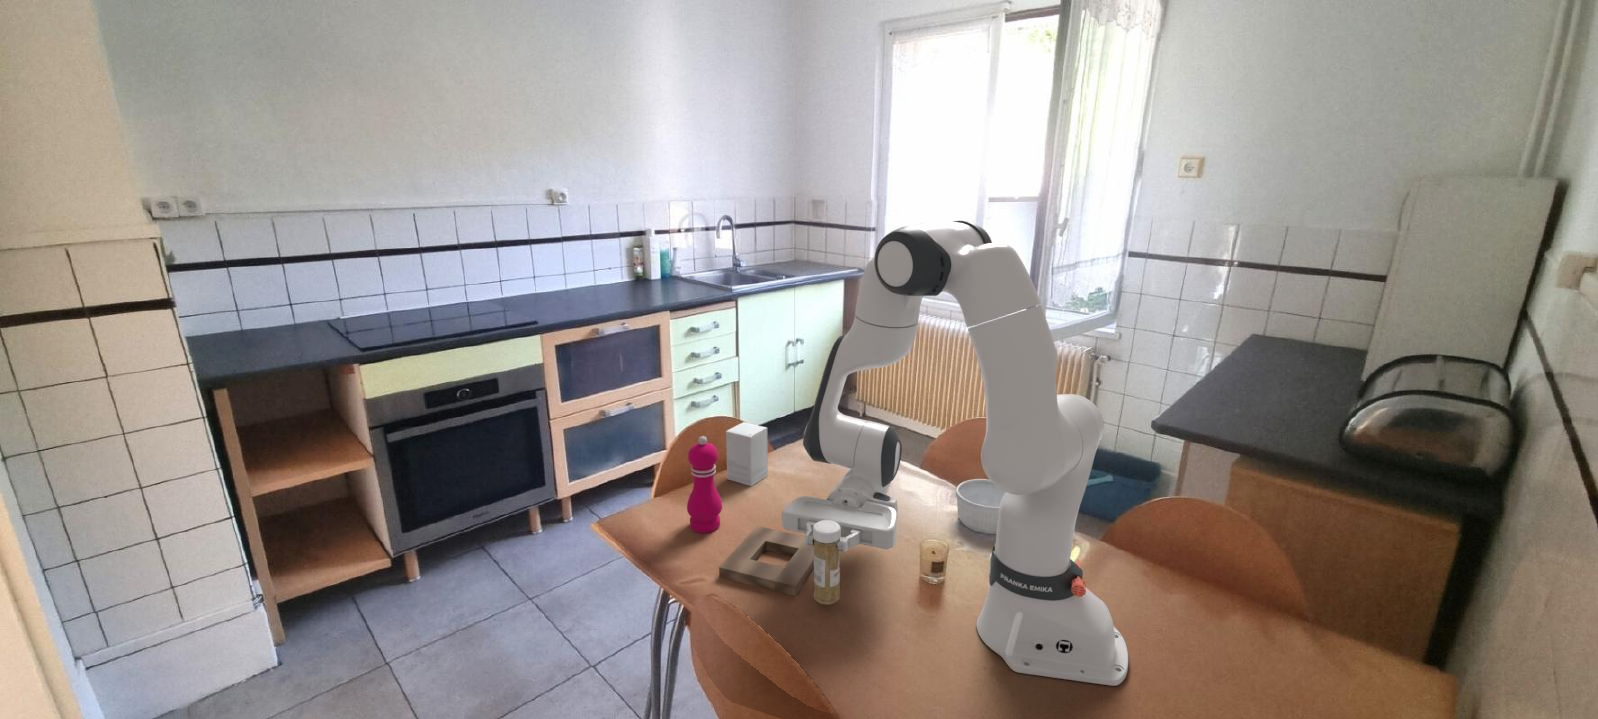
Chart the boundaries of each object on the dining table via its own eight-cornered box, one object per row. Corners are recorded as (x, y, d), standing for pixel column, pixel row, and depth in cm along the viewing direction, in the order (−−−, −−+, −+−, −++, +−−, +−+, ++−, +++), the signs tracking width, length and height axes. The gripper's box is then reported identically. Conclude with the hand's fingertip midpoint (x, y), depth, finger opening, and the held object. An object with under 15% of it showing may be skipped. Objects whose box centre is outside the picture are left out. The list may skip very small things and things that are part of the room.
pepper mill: (716, 536, 135) (713, 445, 130) (682, 532, 137) (678, 441, 131) (727, 519, 142) (725, 431, 137) (694, 515, 143) (691, 428, 138)
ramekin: (955, 534, 137) (958, 504, 135) (952, 504, 150) (954, 476, 148) (1022, 540, 135) (1025, 510, 133) (1013, 509, 148) (1016, 481, 146)
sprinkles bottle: (843, 603, 111) (843, 531, 107) (816, 607, 110) (816, 534, 107) (836, 587, 115) (836, 517, 112) (810, 591, 114) (810, 520, 111)
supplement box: (768, 475, 163) (768, 427, 159) (750, 487, 157) (750, 437, 153) (744, 468, 166) (743, 421, 163) (725, 479, 160) (724, 430, 157)
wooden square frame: (826, 550, 131) (826, 541, 130) (795, 596, 116) (795, 586, 116) (757, 534, 136) (757, 525, 136) (719, 576, 122) (719, 567, 121)
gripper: (797, 482, 124) (766, 515, 112) (905, 500, 117) (885, 538, 105) (798, 512, 126) (767, 549, 114) (904, 532, 119) (884, 573, 106)
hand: (824, 544), depth 109 cm, fingers closed on sprinkles bottle, 4 cm apart
